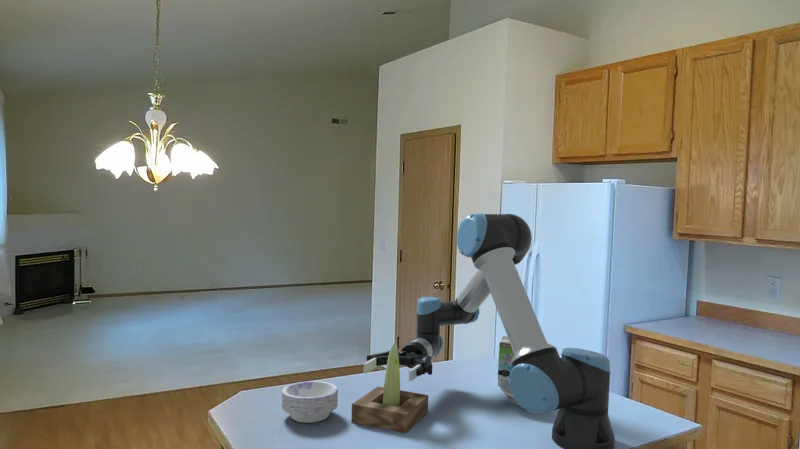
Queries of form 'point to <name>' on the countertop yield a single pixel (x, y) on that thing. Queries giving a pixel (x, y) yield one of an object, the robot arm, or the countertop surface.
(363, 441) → the countertop surface
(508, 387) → the dish
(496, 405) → the countertop surface
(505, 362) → the tea box
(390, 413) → the socket block
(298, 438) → the countertop surface
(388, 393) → the tube
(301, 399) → the paper bowls
